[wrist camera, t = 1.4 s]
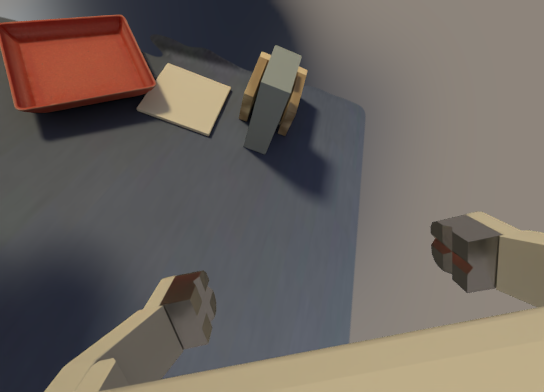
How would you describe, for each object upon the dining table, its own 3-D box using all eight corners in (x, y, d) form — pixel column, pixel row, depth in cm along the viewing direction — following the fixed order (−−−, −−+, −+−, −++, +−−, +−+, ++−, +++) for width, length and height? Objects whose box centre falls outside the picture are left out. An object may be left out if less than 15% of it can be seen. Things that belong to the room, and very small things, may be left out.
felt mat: (137, 110, 43) (136, 108, 42) (168, 65, 48) (167, 62, 48) (208, 136, 44) (208, 134, 43) (230, 89, 50) (230, 87, 49)
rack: (238, 118, 47) (244, 93, 42) (255, 78, 53) (261, 51, 47) (285, 136, 48) (296, 113, 43) (296, 94, 54) (307, 70, 49)
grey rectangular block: (243, 146, 45) (260, 81, 33) (255, 114, 49) (275, 44, 37) (265, 154, 45) (290, 93, 33) (275, 121, 49) (301, 56, 37)
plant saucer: (7, 42, 42) (-8, 21, 39) (127, 31, 49) (122, 12, 46) (30, 128, 37) (15, 111, 34) (161, 101, 44) (158, 86, 41)
